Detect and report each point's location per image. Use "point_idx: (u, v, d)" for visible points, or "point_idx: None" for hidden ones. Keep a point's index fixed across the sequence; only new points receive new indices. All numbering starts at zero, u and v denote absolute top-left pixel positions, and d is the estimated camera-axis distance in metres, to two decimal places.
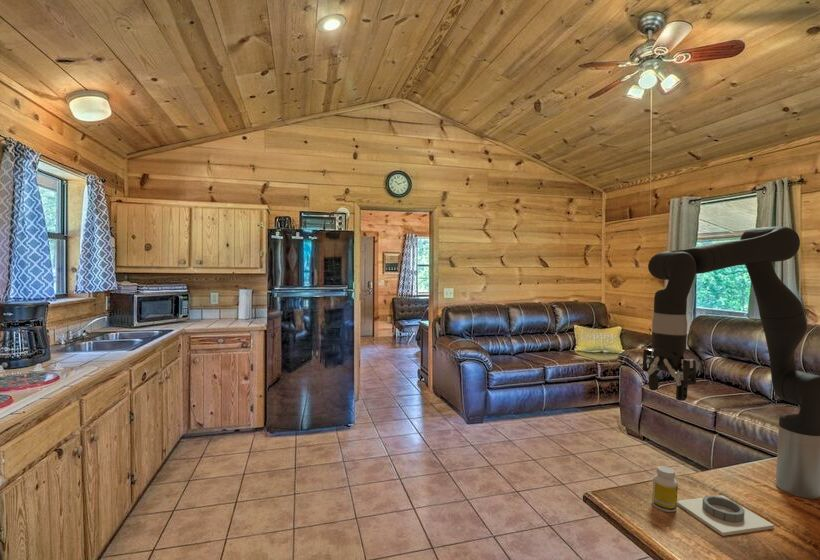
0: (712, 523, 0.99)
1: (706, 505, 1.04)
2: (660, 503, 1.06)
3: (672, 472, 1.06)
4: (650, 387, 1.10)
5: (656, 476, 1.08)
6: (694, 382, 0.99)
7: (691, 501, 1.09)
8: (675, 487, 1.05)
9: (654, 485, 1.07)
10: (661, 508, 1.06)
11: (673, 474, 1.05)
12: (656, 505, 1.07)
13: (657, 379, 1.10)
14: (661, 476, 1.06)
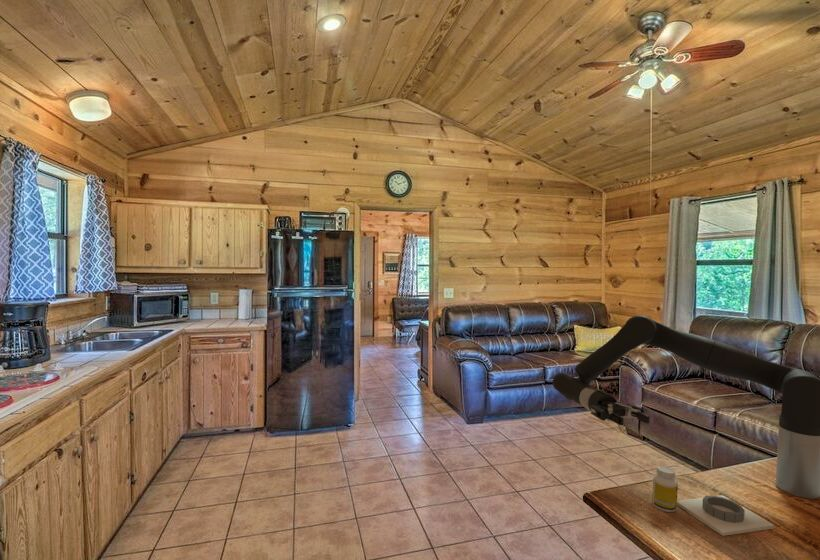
0: (712, 523, 0.99)
1: (706, 505, 1.04)
2: (660, 503, 1.06)
3: (672, 472, 1.06)
4: (646, 423, 1.19)
5: (656, 476, 1.08)
6: (601, 413, 1.21)
7: (691, 501, 1.09)
8: (675, 487, 1.05)
9: (654, 485, 1.07)
10: (661, 508, 1.06)
11: (673, 474, 1.05)
12: (656, 505, 1.07)
13: (639, 414, 1.21)
14: (661, 476, 1.06)
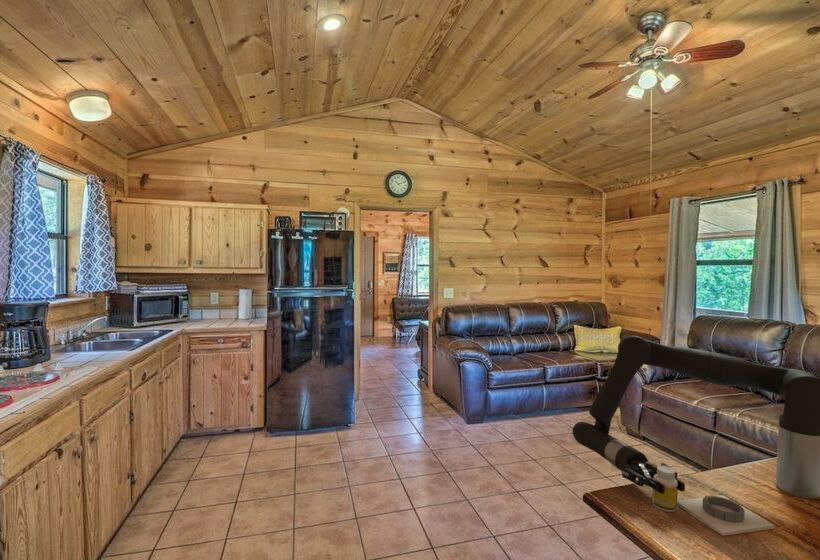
0: (712, 523, 0.99)
1: (706, 505, 1.04)
2: (660, 503, 1.06)
3: (672, 472, 1.06)
4: None
5: (656, 476, 1.08)
6: (639, 478, 1.08)
7: (691, 501, 1.09)
8: (675, 487, 1.05)
9: None
10: (661, 508, 1.06)
11: (673, 474, 1.05)
12: (656, 504, 1.07)
13: None
14: (661, 476, 1.06)
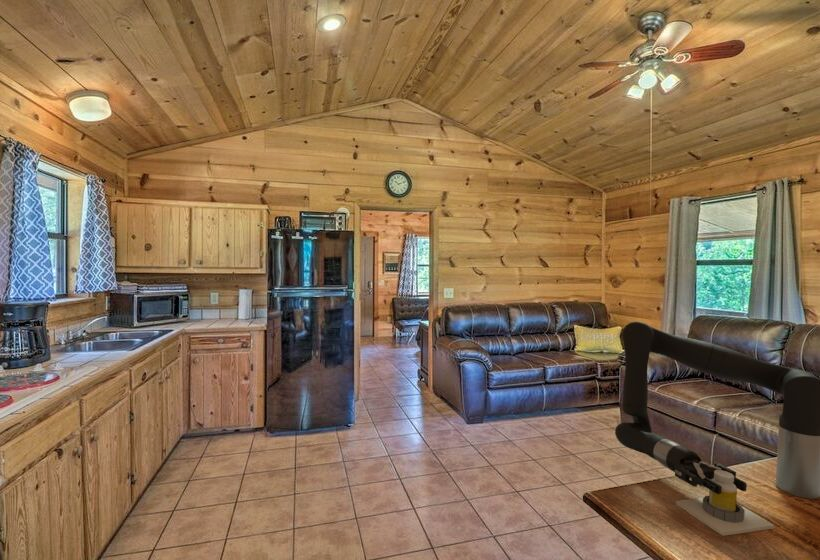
0: (712, 523, 0.99)
1: (706, 505, 1.04)
2: (718, 508, 1.02)
3: (731, 477, 1.02)
4: None
5: (713, 480, 1.04)
6: (692, 477, 1.05)
7: (691, 501, 1.09)
8: (735, 492, 1.01)
9: None
10: None
11: (732, 479, 1.02)
12: None
13: None
14: (719, 481, 1.03)
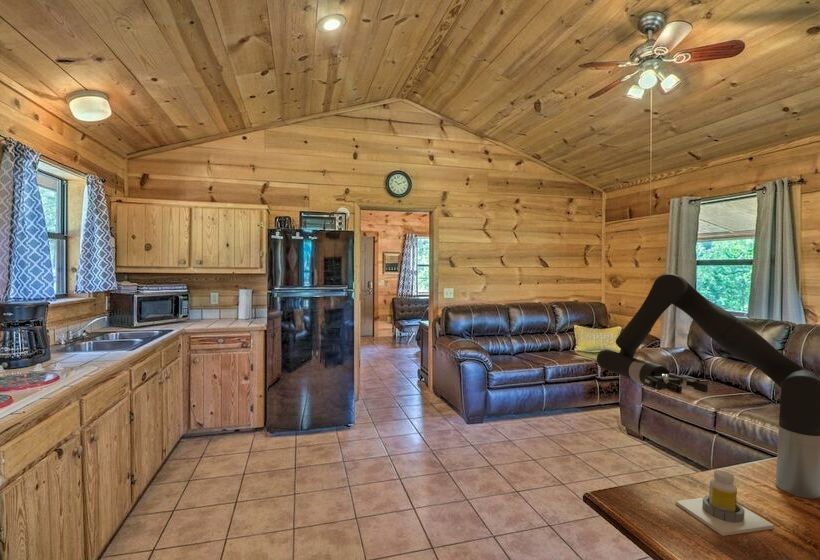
0: (712, 523, 0.99)
1: (706, 505, 1.04)
2: (718, 508, 1.02)
3: (731, 477, 1.02)
4: (703, 391, 1.17)
5: (713, 481, 1.04)
6: (657, 382, 1.19)
7: (691, 501, 1.09)
8: (735, 492, 1.01)
9: (711, 490, 1.04)
10: None
11: (732, 479, 1.02)
12: None
13: (696, 383, 1.19)
14: (719, 481, 1.03)
